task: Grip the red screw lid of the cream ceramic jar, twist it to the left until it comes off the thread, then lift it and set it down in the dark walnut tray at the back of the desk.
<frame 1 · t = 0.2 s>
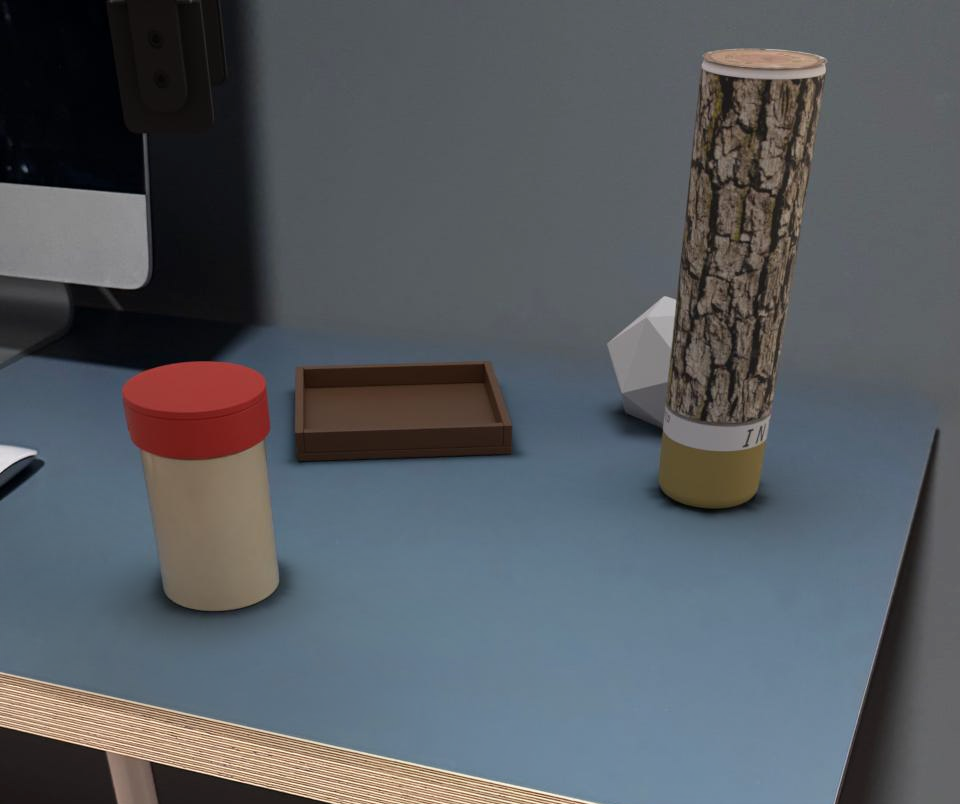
hand: (181, 106, 50), 26 cm above the table, tool pointing down, fingers open, 9 cm apart
jar: (221, 583, 74), on the table
paper tube: (706, 494, 85), on the table
tray: (399, 422, 94), on the table
die: (664, 421, 95), on the table
jar lid: (195, 393, 67), point 11 cm above the table, screwed on, not yet turned
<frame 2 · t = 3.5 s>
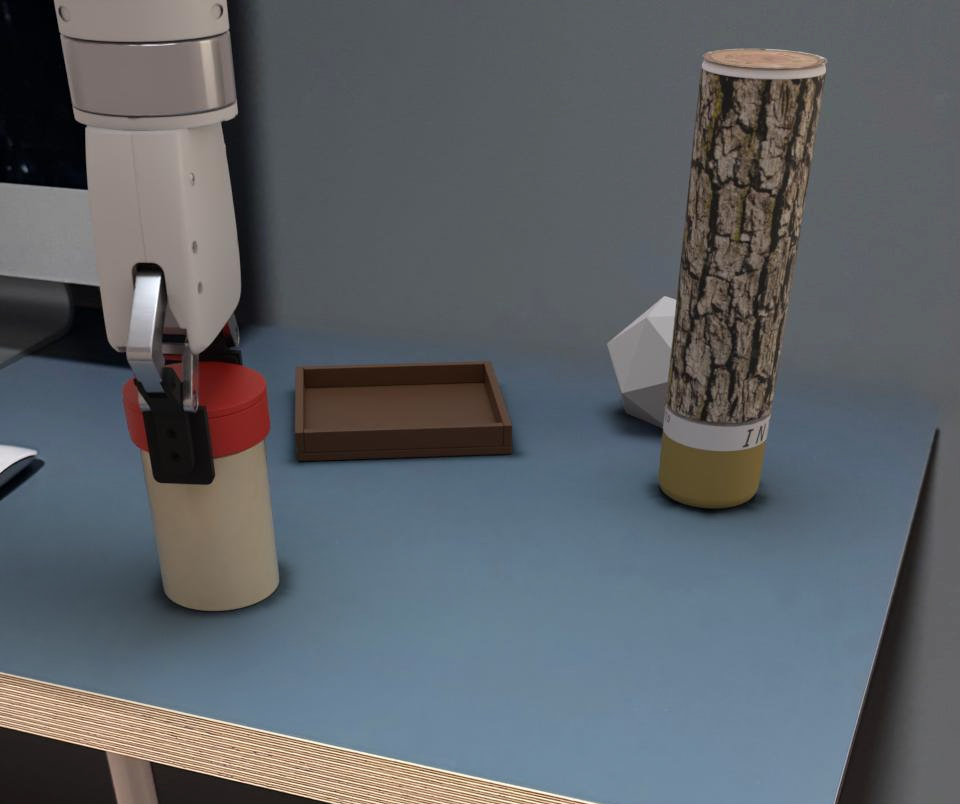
hand: (203, 448, 69), 8 cm above the table, tool pointing down, fingers closed on jar lid, 7 cm apart
jar lid: (195, 393, 67), point 11 cm above the table, screwed on, not yet turned, touching gripper
everything else where it was.
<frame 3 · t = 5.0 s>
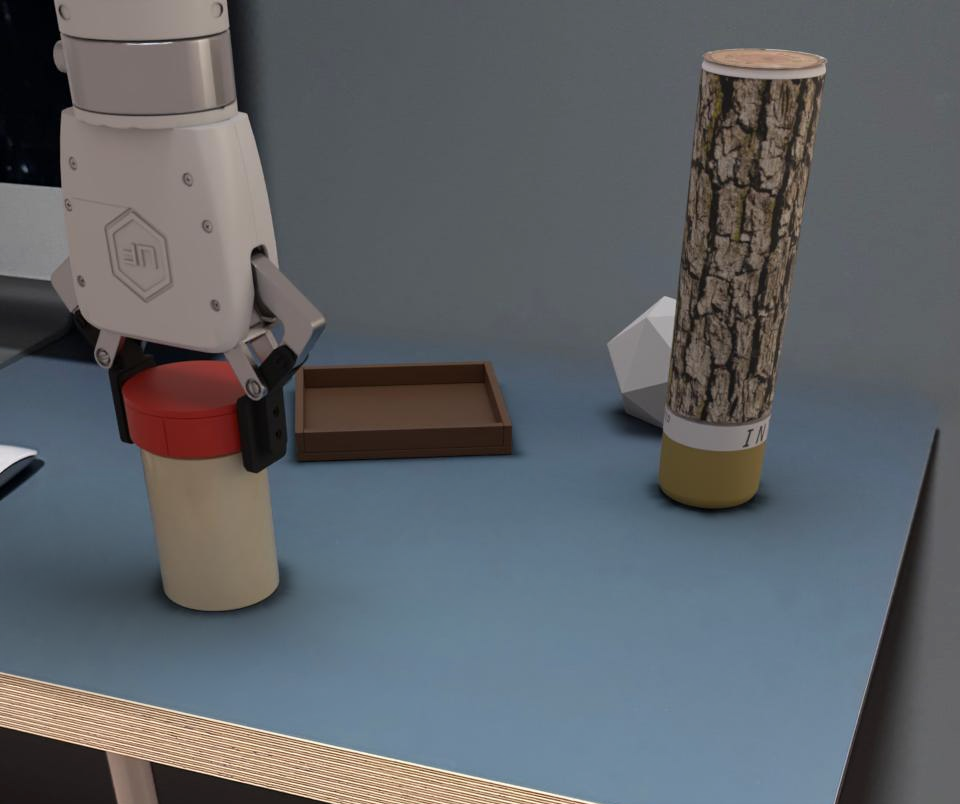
hand: (203, 447, 69), 8 cm above the table, tool pointing down, fingers closed on jar lid, 7 cm apart
jar lid: (195, 392, 67), point 11 cm above the table, turned 67° so far, risen 0.0 cm, still on its thread, touching gripper
everything else where it was.
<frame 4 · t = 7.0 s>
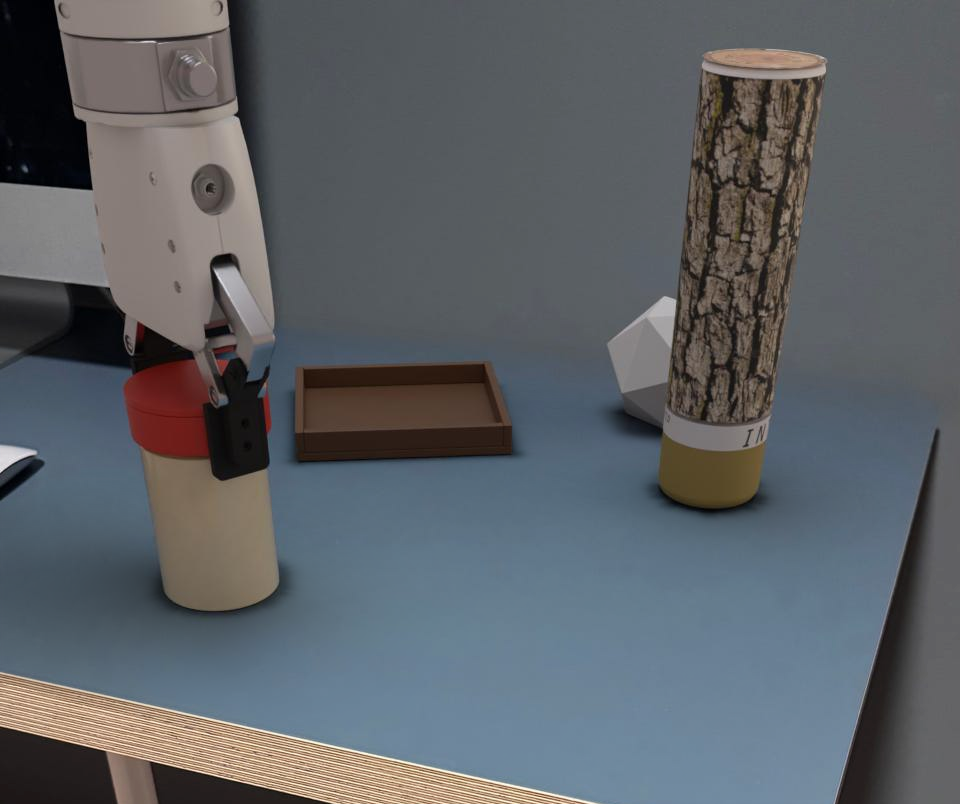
hand: (204, 446, 69), 8 cm above the table, tool pointing down, fingers closed on jar lid, 7 cm apart
jar lid: (196, 390, 67), point 11 cm above the table, off its thread, touching gripper
everything else where it was.
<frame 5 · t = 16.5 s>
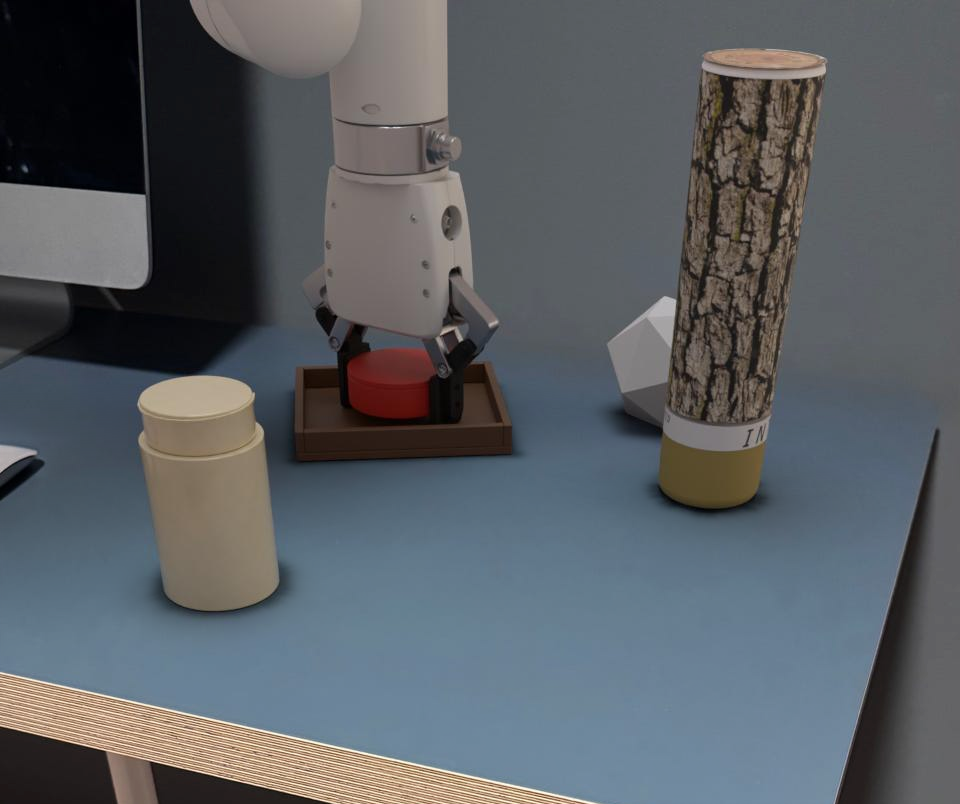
hand: (400, 412, 93), 1 cm above the table, tool pointing down, fingers closed on jar lid, 7 cm apart
jar lid: (399, 370, 91), point 4 cm above the table, off its thread, touching gripper
everything else where it was.
when the fingers open (2 cm above the table, at t = 29.7 s): jar lid drops 3 cm, resting on tray.
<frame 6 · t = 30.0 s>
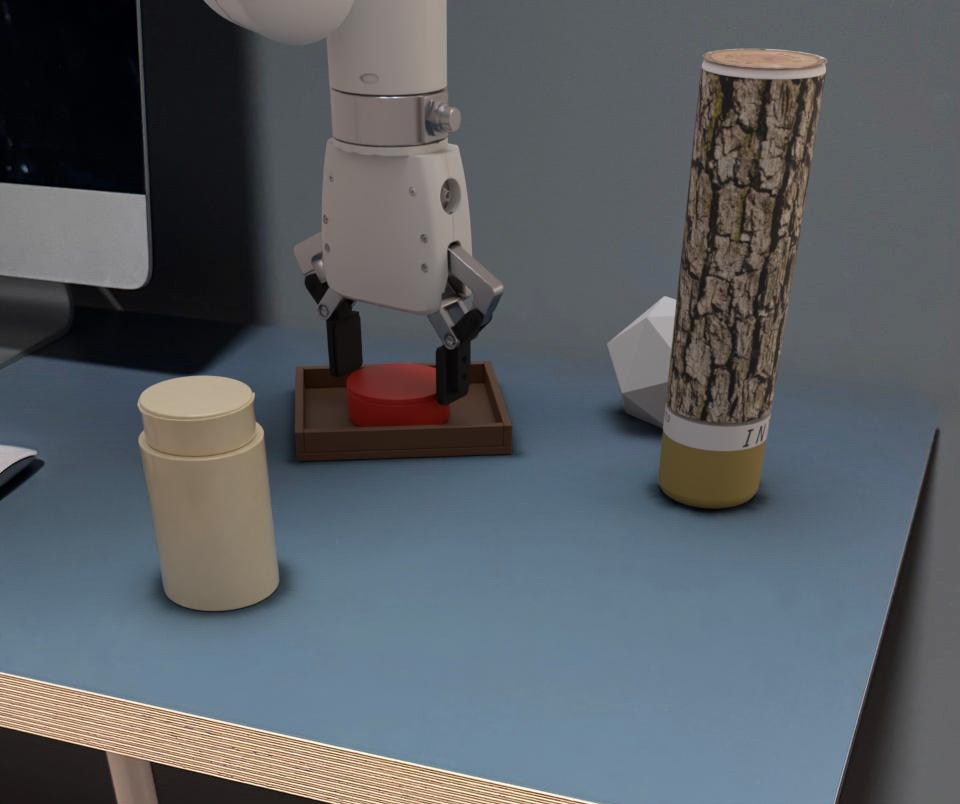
hand: (398, 385, 92), 3 cm above the table, tool pointing down, fingers open, 9 cm apart
jar lid: (398, 386, 92), point 3 cm above the table, off its thread, touching tray
everything else where it was.
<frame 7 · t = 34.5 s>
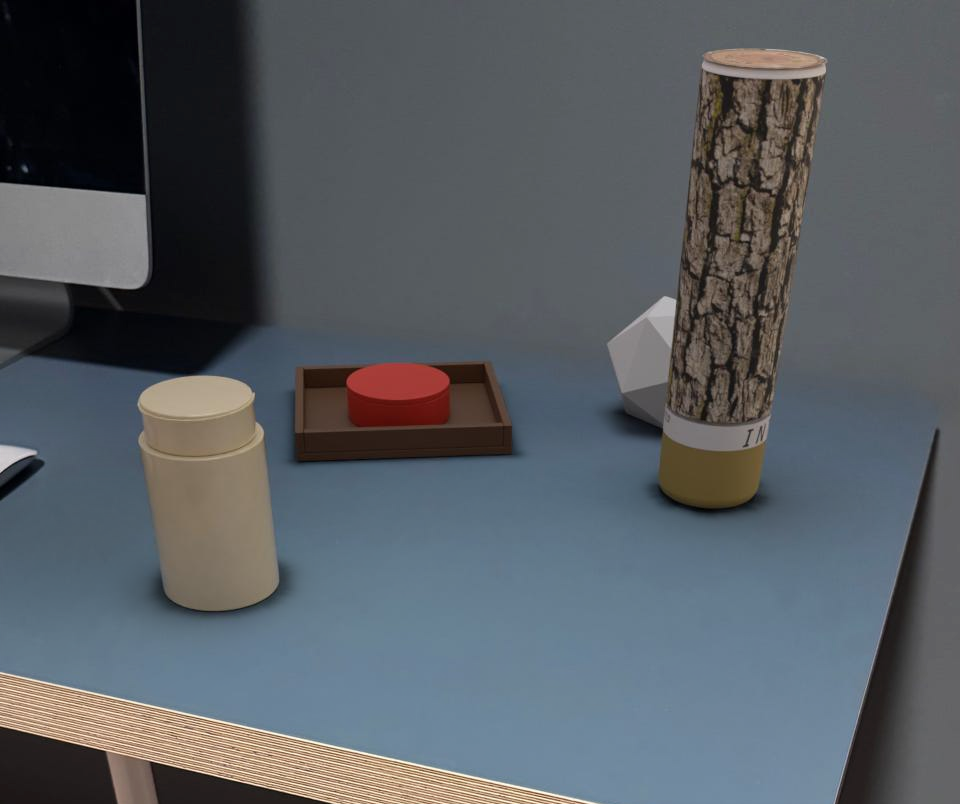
nothing on the table moved.
at the end: jar lid inside the target area in the tray (0.0 cm from its centre), point 2.7 cm above the tray's base; jar tilted 0°; jar moved 0.0 cm from its start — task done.
